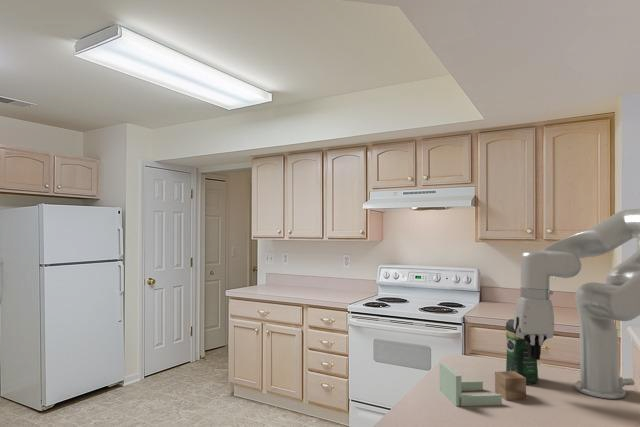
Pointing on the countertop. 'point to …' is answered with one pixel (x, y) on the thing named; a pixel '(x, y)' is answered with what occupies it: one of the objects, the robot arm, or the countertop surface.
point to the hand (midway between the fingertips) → (534, 358)
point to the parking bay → (464, 389)
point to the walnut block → (510, 385)
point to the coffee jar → (519, 355)
